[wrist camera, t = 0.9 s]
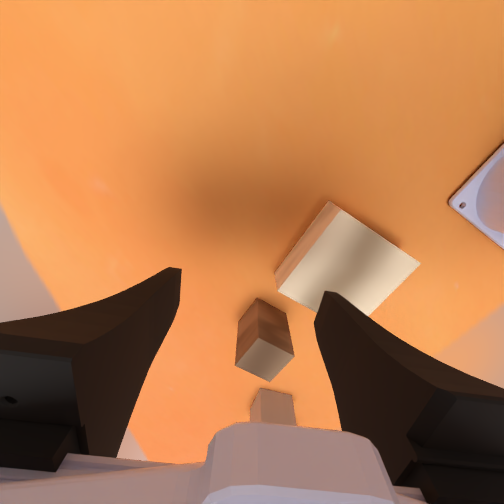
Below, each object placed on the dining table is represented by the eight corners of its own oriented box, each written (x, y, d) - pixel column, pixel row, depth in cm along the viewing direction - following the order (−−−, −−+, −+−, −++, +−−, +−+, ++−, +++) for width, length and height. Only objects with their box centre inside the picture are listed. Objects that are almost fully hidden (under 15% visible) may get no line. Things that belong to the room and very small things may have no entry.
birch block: (396, 246, 22) (420, 263, 19) (339, 308, 25) (352, 332, 22) (327, 199, 21) (341, 209, 17) (274, 271, 23) (277, 291, 20)
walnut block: (286, 313, 25) (294, 356, 20) (266, 336, 26) (269, 382, 21) (257, 297, 24) (258, 337, 19) (238, 321, 25) (234, 365, 20)
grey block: (291, 394, 30) (297, 429, 26) (280, 415, 31) (283, 451, 28) (260, 387, 29) (261, 422, 26) (250, 408, 31) (249, 444, 27)
